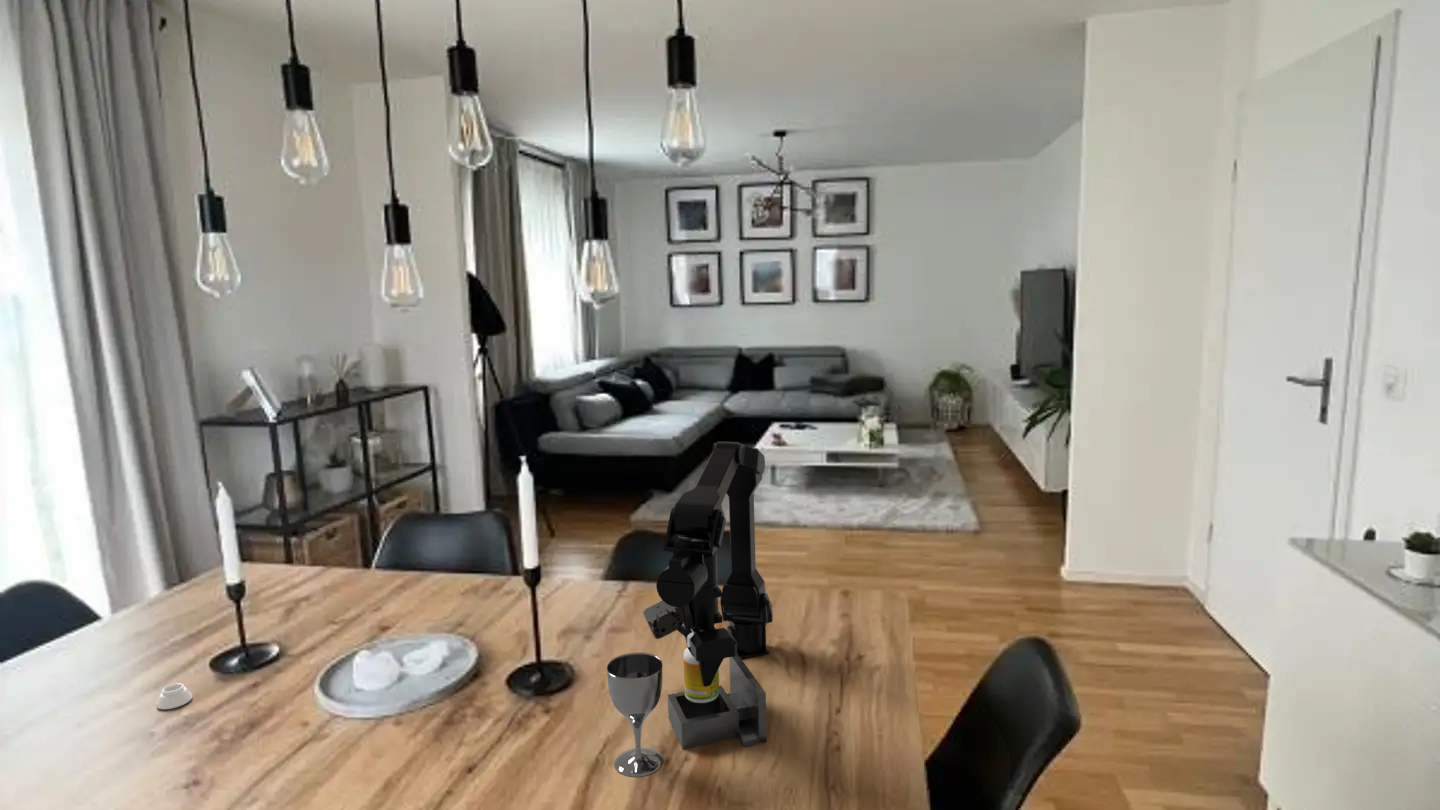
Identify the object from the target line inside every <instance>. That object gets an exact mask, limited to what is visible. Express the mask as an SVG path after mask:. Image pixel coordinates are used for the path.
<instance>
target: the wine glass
mask: <svg viewBox="0 0 1440 810" xmlns="http://www.w3.org/2000/svg"><path fill="white" fill-rule="evenodd" d="M663 664H664V663H663V660H662V659H661V658H660V657H659V656H657V655H655V654H653V653H649V652H629V653H624V654H621V655H618V656H616V657H614V658H613V659H611V660H610V661H609V662H608V663H607V665H606V679H607V687H608V691H609V696H610V700H611V702H612V704H613V706H614V708H615V709H616V711H617V712H618V713H620V714H621V715H622V716H623V718H626V720H628V721H629V723H630V725H631V726H632V729H633V736H634V743H635V747H634V748H629V749H627V750H625V751H623V752H621V753H620V754H619V755H617V757H616V758H615V760H614V763H613V764H614V769H615V770H616V771H617V772H618V773H619V774H620V775H622V776H625V777H631V778H639V777H645V776H649V775H651V774H654V773H655V772H657V771H658V770H659V769H661V767H662V766H663V764H664V757H663V754H661V753H660V752H659V751H658V750H656V749H654V748H651V747H642V745H641V743H642V742H641V740H642V727H643V725H644V722H645V720H646V719H647V718H648V716H650V714H651V713H653V712H652V711H654V709H655V708H656V707H657V705H659V701H660V699H661V695H662V690H663V681H664V667H663V666H664V665H663Z"/></svg>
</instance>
